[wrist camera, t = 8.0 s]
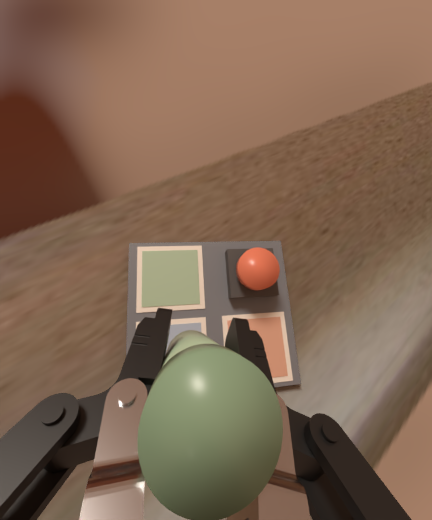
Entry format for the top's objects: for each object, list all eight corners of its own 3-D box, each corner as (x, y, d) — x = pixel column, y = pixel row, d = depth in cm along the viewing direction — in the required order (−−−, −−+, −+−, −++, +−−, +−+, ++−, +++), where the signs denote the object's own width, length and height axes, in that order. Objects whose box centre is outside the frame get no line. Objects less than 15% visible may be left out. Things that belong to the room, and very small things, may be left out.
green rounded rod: (164, 386, 14) (135, 537, 4) (164, 330, 15) (139, 356, 5) (217, 380, 15) (291, 504, 5) (214, 326, 15) (274, 345, 6)
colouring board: (126, 403, 24) (120, 412, 22) (130, 245, 28) (126, 238, 26) (297, 382, 27) (308, 387, 25) (278, 242, 32) (285, 236, 29)
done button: (235, 292, 27) (241, 290, 24) (231, 254, 28) (237, 247, 25) (272, 290, 28) (282, 287, 25) (267, 253, 29) (276, 247, 26)
